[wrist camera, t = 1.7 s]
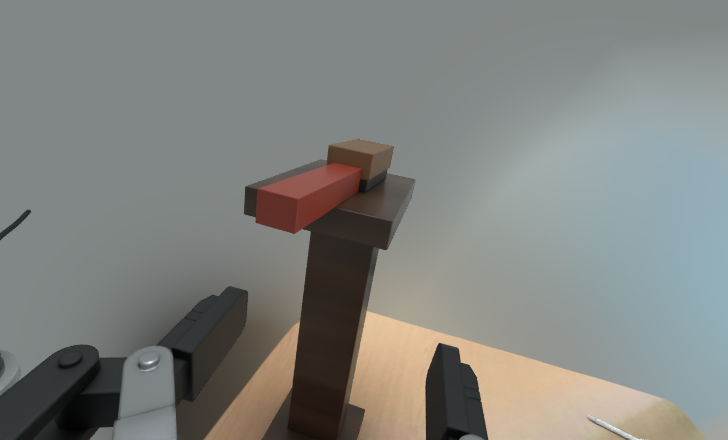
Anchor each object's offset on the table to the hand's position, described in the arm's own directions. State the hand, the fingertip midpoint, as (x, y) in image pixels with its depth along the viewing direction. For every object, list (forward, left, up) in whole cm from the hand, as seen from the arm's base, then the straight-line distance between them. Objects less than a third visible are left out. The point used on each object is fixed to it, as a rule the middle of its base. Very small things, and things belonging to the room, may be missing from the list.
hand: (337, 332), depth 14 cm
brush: (-11, +5, +2) cm, 12 cm away
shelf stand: (-14, +8, -30) cm, 34 cm away
